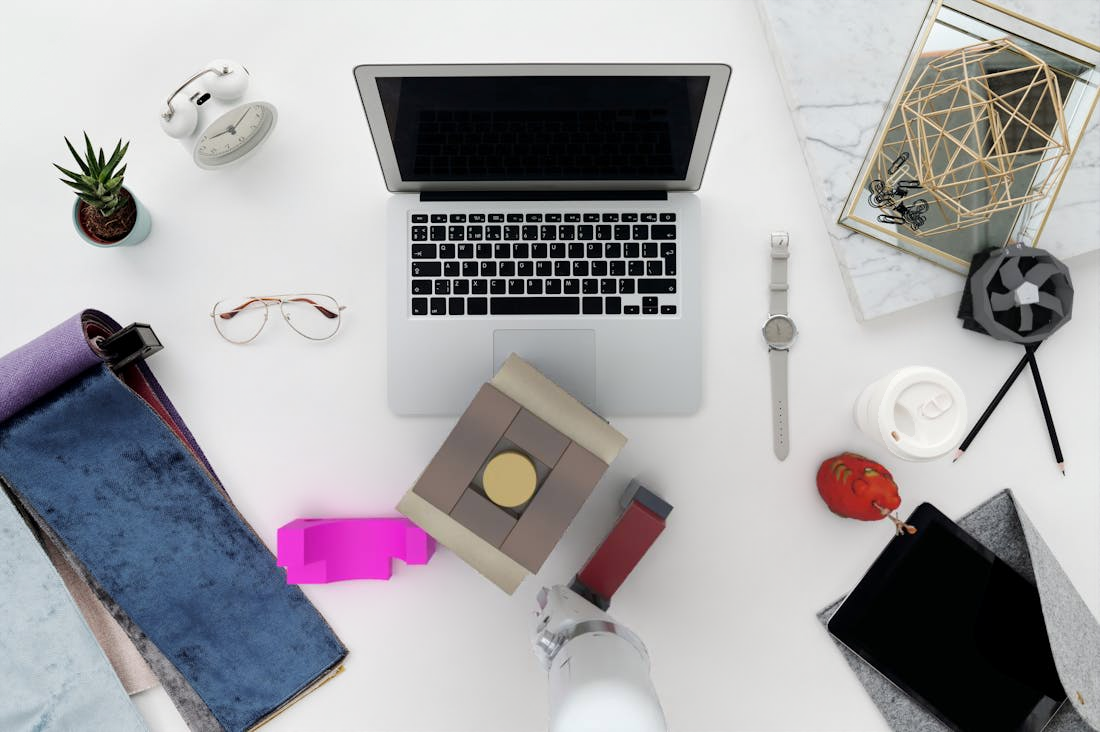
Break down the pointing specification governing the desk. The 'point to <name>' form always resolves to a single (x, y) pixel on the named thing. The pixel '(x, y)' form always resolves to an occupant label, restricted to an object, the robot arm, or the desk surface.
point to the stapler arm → (618, 553)
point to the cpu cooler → (1017, 294)
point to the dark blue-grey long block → (646, 499)
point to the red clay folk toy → (859, 489)
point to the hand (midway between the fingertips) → (583, 604)
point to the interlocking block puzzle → (547, 439)
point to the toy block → (349, 548)
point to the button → (510, 478)
